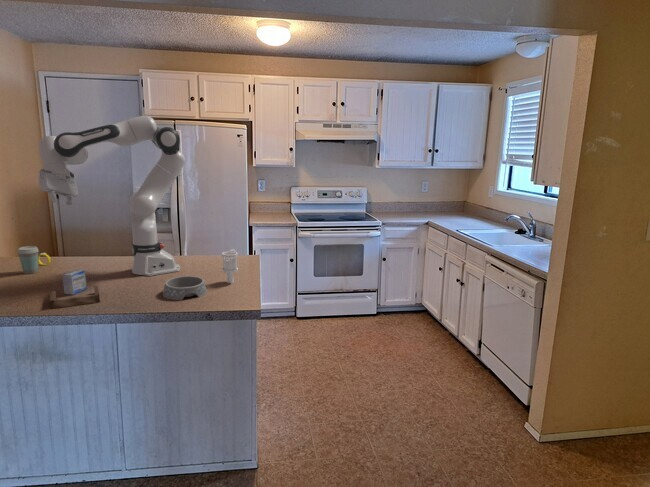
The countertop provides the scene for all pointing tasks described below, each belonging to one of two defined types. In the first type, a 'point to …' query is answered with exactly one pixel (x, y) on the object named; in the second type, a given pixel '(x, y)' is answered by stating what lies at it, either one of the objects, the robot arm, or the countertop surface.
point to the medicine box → (74, 282)
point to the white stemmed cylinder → (230, 264)
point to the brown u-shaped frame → (74, 299)
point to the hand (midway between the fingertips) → (62, 203)
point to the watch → (46, 256)
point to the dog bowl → (184, 287)
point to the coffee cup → (29, 259)
